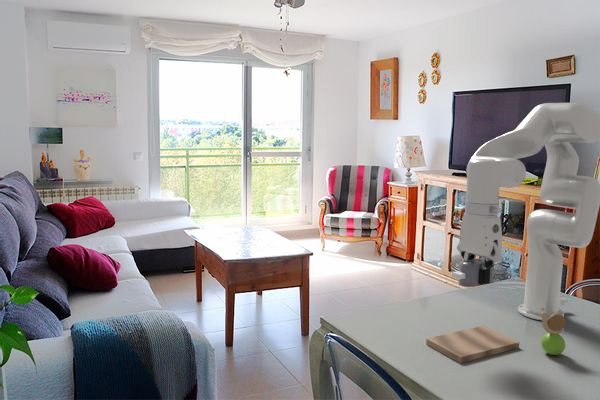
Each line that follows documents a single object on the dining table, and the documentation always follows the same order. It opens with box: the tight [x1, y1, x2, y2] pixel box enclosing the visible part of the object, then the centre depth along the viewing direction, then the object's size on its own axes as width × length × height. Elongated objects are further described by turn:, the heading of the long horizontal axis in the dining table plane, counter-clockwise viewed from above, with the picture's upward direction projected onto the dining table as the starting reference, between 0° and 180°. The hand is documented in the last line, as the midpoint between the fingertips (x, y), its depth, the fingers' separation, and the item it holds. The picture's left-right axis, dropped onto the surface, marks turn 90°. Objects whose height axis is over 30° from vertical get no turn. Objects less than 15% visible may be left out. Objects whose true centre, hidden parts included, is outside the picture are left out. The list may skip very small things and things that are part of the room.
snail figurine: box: [540, 307, 566, 356], centre depth 129 cm, size 5×6×12 cm
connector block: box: [451, 257, 495, 288], centre depth 130 cm, size 12×4×6 cm, turn 118°
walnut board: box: [425, 325, 520, 364], centre depth 134 cm, size 20×12×2 cm, turn 118°
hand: (476, 280), depth 131 cm, fingers closed on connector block, 4 cm apart
